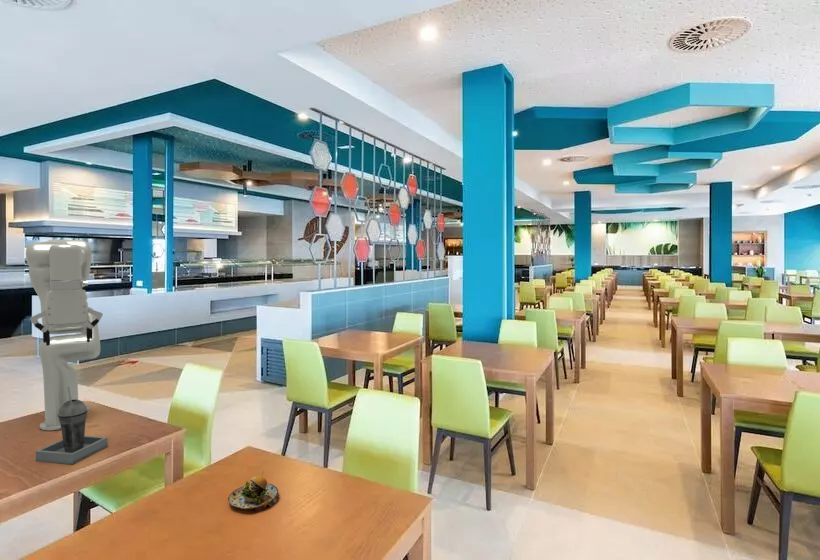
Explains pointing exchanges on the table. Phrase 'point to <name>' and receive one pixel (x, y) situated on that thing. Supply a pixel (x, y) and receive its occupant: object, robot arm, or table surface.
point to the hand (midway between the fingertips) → (68, 343)
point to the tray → (58, 455)
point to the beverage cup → (72, 424)
